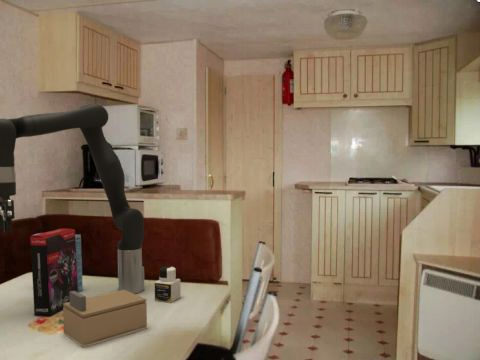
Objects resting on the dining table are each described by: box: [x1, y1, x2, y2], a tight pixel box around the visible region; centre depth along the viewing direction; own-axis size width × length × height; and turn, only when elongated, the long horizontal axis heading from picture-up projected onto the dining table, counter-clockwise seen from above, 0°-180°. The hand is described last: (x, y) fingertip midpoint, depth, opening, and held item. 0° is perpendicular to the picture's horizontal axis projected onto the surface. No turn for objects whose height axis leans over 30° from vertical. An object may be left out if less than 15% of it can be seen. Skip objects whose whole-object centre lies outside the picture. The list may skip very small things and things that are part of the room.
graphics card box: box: [29, 227, 79, 317], centre depth 152 cm, size 17×7×27 cm, turn 168°
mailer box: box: [62, 301, 148, 348], centre depth 131 cm, size 20×14×8 cm
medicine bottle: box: [154, 265, 182, 304], centre depth 162 cm, size 7×7×12 cm
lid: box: [63, 290, 147, 318], centre depth 131 cm, size 20×14×5 cm
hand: (4, 230), depth 141 cm, fingers open, 8 cm apart
